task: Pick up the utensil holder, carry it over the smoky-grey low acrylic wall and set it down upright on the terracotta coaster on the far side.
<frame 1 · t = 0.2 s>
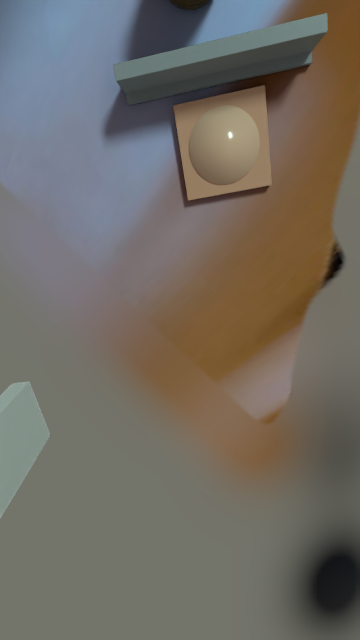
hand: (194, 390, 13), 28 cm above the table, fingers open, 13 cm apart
coaster: (223, 147, 34), on the table
low wall: (214, 67, 31), on the table
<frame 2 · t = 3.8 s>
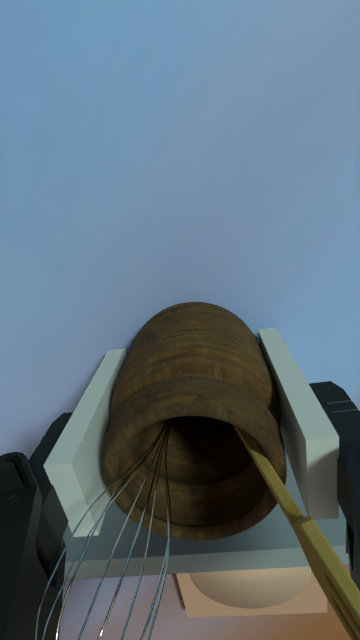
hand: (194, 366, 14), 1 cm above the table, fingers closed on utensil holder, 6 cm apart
utensil holder: (198, 354, 15), on the table, touching gripper
coaster: (247, 557, 20), on the table
low wall: (235, 473, 18), on the table
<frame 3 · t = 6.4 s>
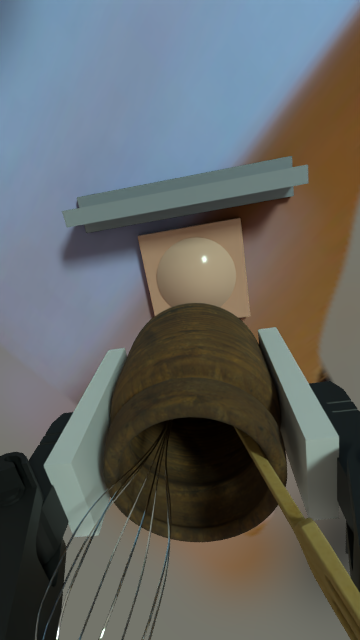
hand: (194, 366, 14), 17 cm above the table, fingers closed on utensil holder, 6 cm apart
utensil holder: (198, 355, 15), point 16 cm above the table, touching gripper
coaster: (196, 275, 30), on the table
low wall: (183, 196, 28), on the table
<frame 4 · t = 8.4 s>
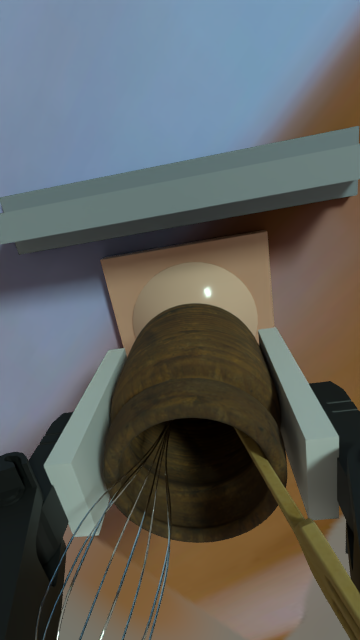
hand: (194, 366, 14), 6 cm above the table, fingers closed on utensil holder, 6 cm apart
utensil holder: (198, 355, 15), point 4 cm above the table, touching gripper
coaster: (194, 318, 19), on the table
low wall: (173, 196, 17), on the table
when the fingers open (3 cm above the table, at t = 9.3 s): utensil holder drops 2 cm, resting on coaster.
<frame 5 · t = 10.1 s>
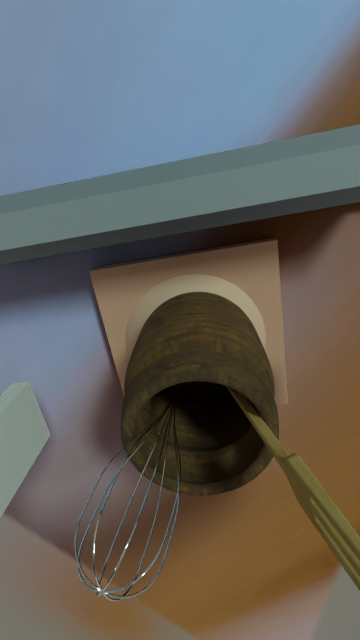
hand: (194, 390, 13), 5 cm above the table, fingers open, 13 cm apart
utensil holder: (200, 340, 17), point 1 cm above the table, touching coaster
coaster: (195, 335, 17), on the table
low wall: (171, 199, 15), on the table
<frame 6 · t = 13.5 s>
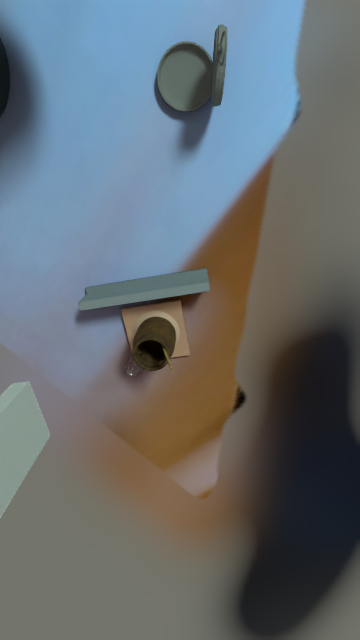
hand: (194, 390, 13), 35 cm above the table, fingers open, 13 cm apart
utensil holder: (158, 332, 49), point 1 cm above the table, touching coaster
coaster: (156, 330, 50), on the table
pocket watch: (196, 82, 38), on the table
low wall: (147, 287, 47), on the table
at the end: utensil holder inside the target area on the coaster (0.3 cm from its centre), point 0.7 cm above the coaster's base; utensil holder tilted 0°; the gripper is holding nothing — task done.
